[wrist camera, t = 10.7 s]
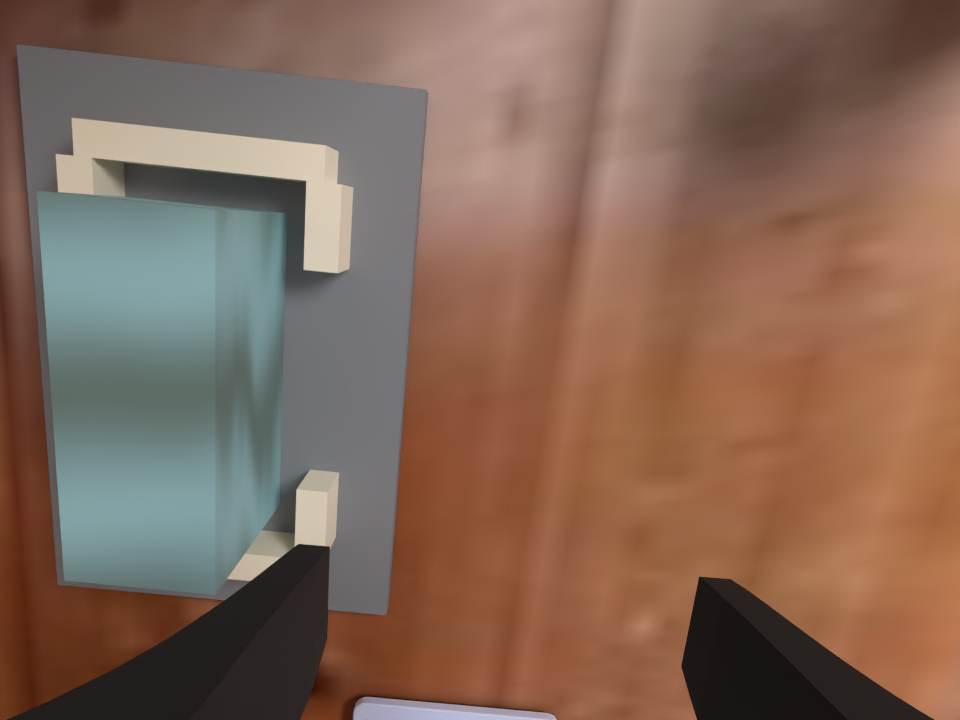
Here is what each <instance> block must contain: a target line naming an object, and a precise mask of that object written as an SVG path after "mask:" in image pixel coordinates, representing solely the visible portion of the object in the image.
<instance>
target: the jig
mask: <svg viewBox="0 0 960 720" xmlns="http://www.w3.org/2000/svg"><path fill="white" fill-rule="evenodd" d="M16 47H17V60H18V73H19V86H20V99H21V112H22V125H23V138H24V151H25V164H26V178H27V191H28V204H29V217H30V230H31V243H32V256H33V269H34V282H35V295H36V309H37V322H38V335H39V348H40V361H41V374H42V387H43V400H44V413H45V426H46V440H47V453H48V466H49V479H50V492H51V505H52V518H53V531H54V544H55V558H56V571H57V584H58V585H64V586H75V587H86V588H97V589H108V590H118V591H129V592H140V593H151V594H161V595H172V596H183V597H194V598H205V599H215V600H226V599H227V598H229V597H230V596H231V595H233V594H234V593H235V592H237V591H238V590H239V589H241V588H242V587H243V586H245V585H246V584H247V583H249V582H250V581H251V580H253V579H254V578H255V577H256V576H258V575H259V574H260V573H262V572H263V571H264V570H265V569H267V568H268V567H269V566H270V565H272V564H273V563H274V562H276V561H277V560H278V559H279V558H281V557H282V556H283V555H285V554H286V553H287V552H288V551H290V550H291V549H292V548H294V547H295V546H296V545H298V544H305V545H317V546H329V547H330V560H329V591H328V610H334V611H345V612H355V613H366V614H377V615H387V611H388V607H389V597H390V584H391V571H392V558H393V545H394V532H395V519H396V506H397V493H398V480H399V467H400V454H401V441H402V427H403V414H404V401H405V388H406V375H407V362H408V349H409V336H410V323H411V310H412V297H413V284H414V271H415V258H416V245H417V232H418V219H419V206H420V193H421V180H422V166H423V153H424V140H425V127H426V114H427V101H428V93H427V90H424V89H415V88H406V87H397V86H388V85H379V84H370V83H361V82H352V81H343V80H334V79H325V78H316V77H307V76H298V75H289V74H280V73H271V72H262V71H253V70H244V69H235V68H226V67H217V66H208V65H199V64H190V63H181V62H172V61H163V60H154V59H145V58H136V57H127V56H118V55H109V54H100V53H91V52H82V51H73V50H64V49H55V48H46V47H37V46H28V45H19V44H16ZM37 191H48V192H63V193H78V194H93V195H108V196H123V197H138V198H153V199H164V200H173V201H183V202H192V203H201V204H210V205H219V206H229V207H238V208H247V209H256V210H265V211H275V212H284V213H287V244H286V281H285V318H284V354H283V391H282V428H281V465H280V502H279V507H278V508H277V509H276V511H275V512H274V514H273V515H272V516H271V518H270V519H269V521H268V522H267V523H266V525H265V526H264V528H263V529H262V530H261V532H260V533H259V535H258V536H257V538H256V539H255V540H254V542H253V543H252V545H251V546H250V547H249V549H248V550H247V552H246V553H245V554H244V556H243V557H242V559H241V560H240V561H239V563H238V564H237V566H236V567H235V568H234V570H233V571H232V573H231V574H230V575H229V577H228V578H227V580H226V581H225V582H224V584H223V585H222V587H221V588H220V589H219V591H218V592H217V594H216V595H211V594H200V593H190V592H179V591H168V590H158V589H147V588H137V587H126V586H116V585H105V584H95V583H84V582H74V581H64V570H63V556H62V542H61V528H60V513H59V499H58V485H57V471H56V457H55V443H54V429H53V414H52V400H51V386H50V372H49V358H48V344H47V329H46V315H45V301H44V287H43V273H42V259H41V245H40V230H39V216H38V202H37Z"/></svg>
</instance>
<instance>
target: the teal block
mask: <svg viewBox="0 0 960 720" xmlns="http://www.w3.org/2000/svg"><path fill="white" fill-rule="evenodd" d="M37 202H38V216H39V230H40V245H41V259H42V273H43V287H44V301H45V315H46V329H47V344H48V358H49V372H50V386H51V400H52V414H53V429H54V443H55V457H56V471H57V485H58V499H59V513H60V528H61V542H62V556H63V570H64V581H74V582H84V583H95V584H105V585H116V586H126V587H137V588H147V589H158V590H168V591H179V592H190V593H200V594H211V595H216V594H217V592H218V591H219V589H220V588H221V587H222V585H223V584H224V582H225V581H226V580H227V578H228V577H229V575H230V574H231V573H232V571H233V570H234V568H235V567H236V566H237V564H238V563H239V561H240V560H241V559H242V557H243V556H244V554H245V553H246V552H247V550H248V549H249V547H250V546H251V545H252V543H253V542H254V540H255V539H256V538H257V536H258V535H259V533H260V532H261V530H262V529H263V528H264V526H265V525H266V523H267V522H268V521H269V519H270V518H271V516H272V515H273V514H274V512H275V511H276V509H277V508H278V507H279V502H280V465H281V428H282V391H283V354H284V318H285V281H286V244H287V213H284V212H275V211H265V210H256V209H247V208H238V207H229V206H219V205H210V204H201V203H192V202H183V201H173V200H164V199H153V198H138V197H123V196H108V195H93V194H78V193H63V192H48V191H37Z"/></svg>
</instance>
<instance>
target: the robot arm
mask: <svg viewBox="0 0 960 720" xmlns="http://www.w3.org/2000/svg"><path fill="white" fill-rule="evenodd" d="M329 560H330V547H329V546H317V545H305V544H298V545H296V546H295V547H294V548H292V549H291V550H290V551H288V552H287V553H286V554H285V555H283V556H282V557H281V558H279V559H278V560H277V561H276V562H274V563H273V564H272V565H270V566H269V567H268V568H267V569H265V570H264V571H263V572H262V573H260V574H259V575H258V576H256V577H255V578H254V579H253V580H251V581H250V582H249V583H247V584H246V585H245V586H243V587H242V588H241V589H239V590H238V591H237V592H235V593H234V594H233V595H231V596H230V597H229V598H227V599H226V600H225V601H223V602H222V603H220V604H219V605H217V606H216V607H214V608H213V609H211V610H210V611H209V612H207V613H206V614H204V615H203V616H201V617H200V618H198V619H197V620H195V621H194V622H192V623H191V624H189V625H188V626H186V627H185V628H184V629H182V630H181V631H179V632H178V633H176V634H174V635H173V636H171V637H170V638H168V639H166V640H165V641H163V642H161V643H160V644H158V645H156V646H155V647H153V648H151V649H150V650H148V651H146V652H144V653H143V654H141V655H139V656H137V657H135V658H134V659H132V660H130V661H128V662H127V663H125V664H123V665H121V666H119V667H118V668H116V669H114V670H112V671H110V672H108V673H106V674H104V675H102V676H100V677H98V678H96V679H94V680H92V681H90V682H88V683H86V684H84V685H81V686H79V687H77V688H75V689H73V690H71V691H69V692H67V693H65V694H63V695H61V696H59V697H57V698H55V699H53V700H51V701H49V702H47V703H44V704H42V705H40V706H38V707H35V708H33V709H31V710H28V711H26V712H24V713H21V714H19V715H17V716H14V717H12V718H10V719H7V720H300V718H301V716H302V713H303V711H304V708H305V706H306V704H307V701H308V699H309V696H310V694H311V691H312V688H313V685H314V682H315V678H316V675H317V672H318V668H319V665H320V661H321V658H322V654H323V650H324V647H325V643H326V640H327V622H328V591H329ZM682 670H683V673H684V677H685V681H686V684H687V688H688V691H689V695H690V698H691V701H692V704H693V708H694V711H695V714H696V717H697V720H934V719H932V718H930V717H929V716H927V715H925V714H924V713H922V712H920V711H919V710H917V709H915V708H914V707H912V706H911V705H909V704H907V703H906V702H904V701H903V700H901V699H900V698H898V697H896V696H895V695H893V694H892V693H890V692H889V691H887V690H886V689H884V688H883V687H881V686H880V685H878V684H877V683H875V682H874V681H872V680H871V679H869V678H868V677H866V676H865V675H863V674H862V673H860V672H859V671H858V670H856V669H855V668H853V667H852V666H850V665H849V664H847V663H846V662H845V661H843V660H842V659H840V658H839V657H837V656H836V655H835V654H833V653H832V652H830V651H829V650H828V649H826V648H825V647H824V646H822V645H821V644H819V643H818V642H817V641H815V640H814V639H813V638H811V637H810V636H809V635H807V634H806V633H804V632H803V631H802V630H800V629H799V628H798V627H796V626H795V625H794V624H792V623H791V622H790V621H788V620H787V619H786V618H784V617H783V616H782V615H780V614H779V613H778V612H776V611H775V610H774V609H772V608H771V607H770V606H768V605H767V604H766V603H764V602H763V601H761V600H760V599H759V598H757V597H756V596H755V595H753V594H752V593H750V592H749V591H748V590H746V589H745V588H743V587H742V586H740V585H739V584H737V583H735V582H734V581H732V580H731V579H720V578H708V577H699V581H698V586H697V591H696V596H695V601H694V606H693V611H692V616H691V621H690V626H689V631H688V636H687V641H686V646H685V651H684V656H683V661H682ZM353 720H556V718H555V717H554V716H553V715H552V714H549V713H543V712H532V711H521V710H509V709H498V708H487V707H476V706H465V705H454V704H443V703H432V702H420V701H409V700H398V699H387V698H376V697H363V698H360V699H359V700H358V701H357V702H356V704H355V707H354V711H353Z"/></svg>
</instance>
